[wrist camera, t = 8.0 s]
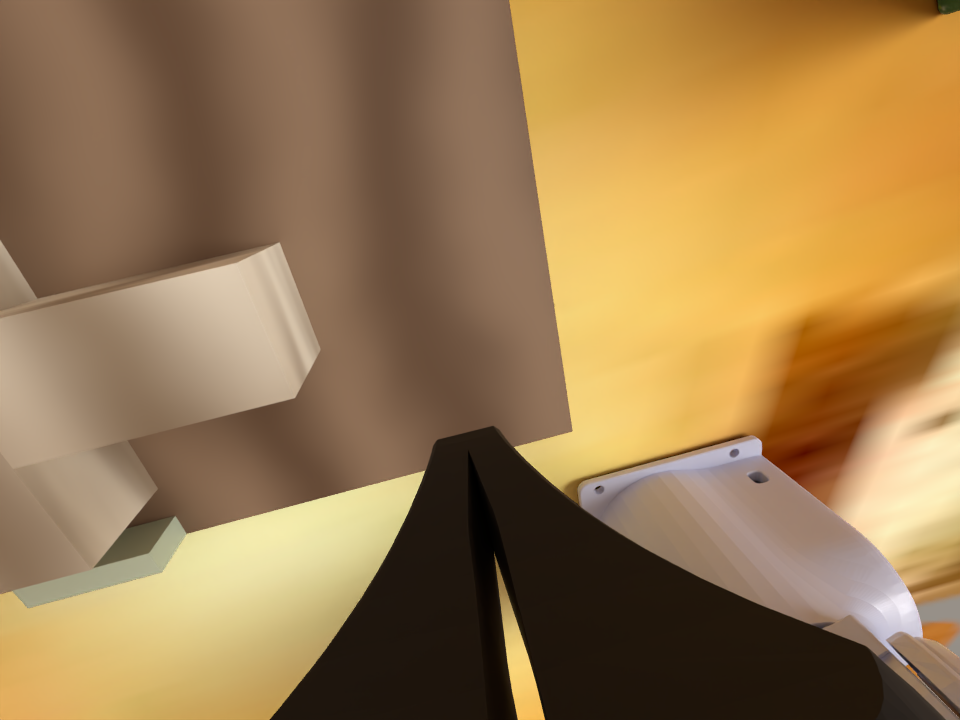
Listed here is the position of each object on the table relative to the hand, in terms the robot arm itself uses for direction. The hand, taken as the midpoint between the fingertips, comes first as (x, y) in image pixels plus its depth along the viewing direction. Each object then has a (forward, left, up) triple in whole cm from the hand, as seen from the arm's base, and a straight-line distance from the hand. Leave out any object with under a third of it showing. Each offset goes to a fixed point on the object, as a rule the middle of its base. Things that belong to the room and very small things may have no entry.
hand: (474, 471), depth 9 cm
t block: (+11, -3, -8) cm, 14 cm away
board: (+7, -4, -9) cm, 12 cm away
